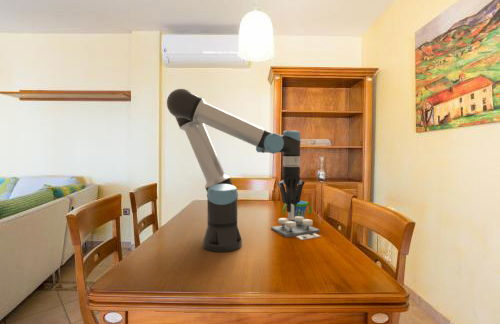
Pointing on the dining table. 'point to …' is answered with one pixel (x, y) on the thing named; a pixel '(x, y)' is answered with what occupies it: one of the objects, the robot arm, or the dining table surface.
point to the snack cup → (299, 209)
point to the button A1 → (290, 224)
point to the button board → (295, 230)
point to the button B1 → (307, 222)
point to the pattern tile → (308, 236)
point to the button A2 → (282, 221)
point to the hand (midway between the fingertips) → (291, 218)
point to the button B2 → (299, 219)
